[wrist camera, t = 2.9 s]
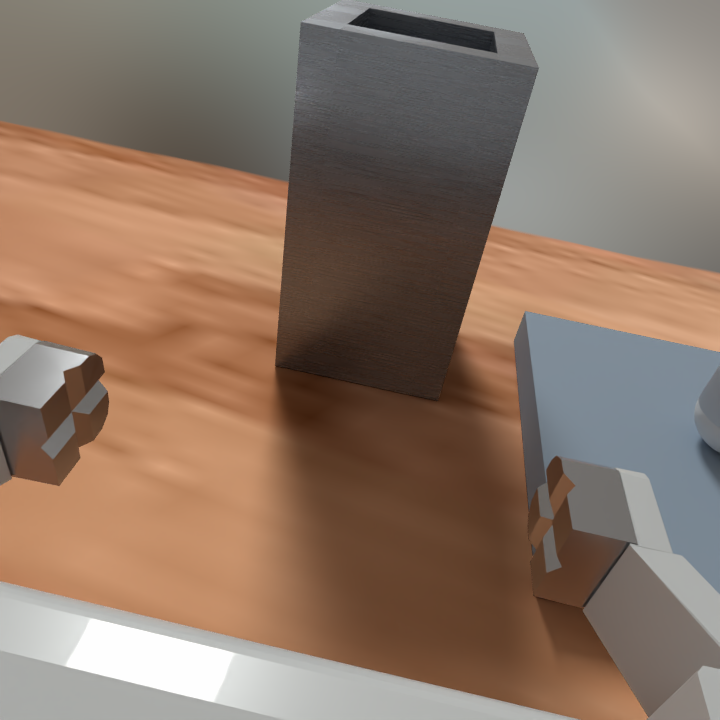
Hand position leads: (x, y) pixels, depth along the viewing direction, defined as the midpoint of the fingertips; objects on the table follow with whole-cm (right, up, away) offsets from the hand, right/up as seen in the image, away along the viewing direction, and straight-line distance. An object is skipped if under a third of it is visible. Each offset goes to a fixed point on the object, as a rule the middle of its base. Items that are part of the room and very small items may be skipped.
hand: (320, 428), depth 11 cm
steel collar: (+1, +2, +13) cm, 13 cm away
